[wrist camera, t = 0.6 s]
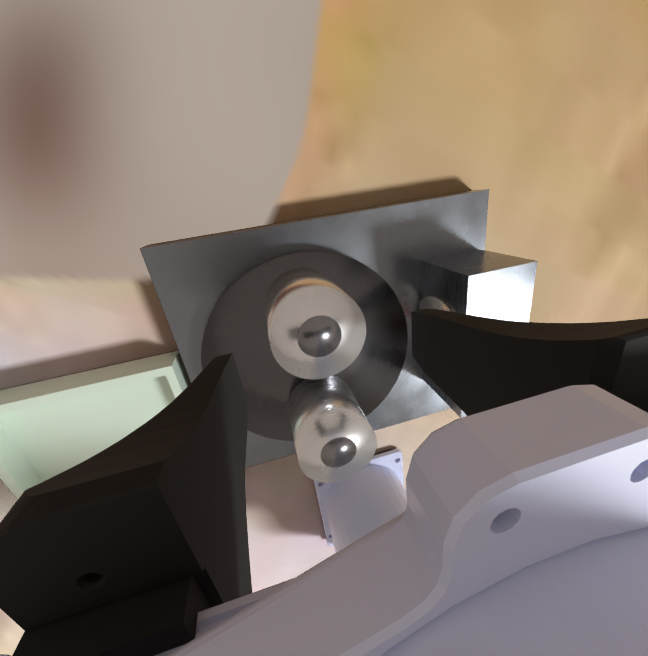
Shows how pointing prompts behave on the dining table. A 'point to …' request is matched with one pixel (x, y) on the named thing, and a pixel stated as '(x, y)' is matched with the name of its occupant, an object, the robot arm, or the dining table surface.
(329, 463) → the spacer
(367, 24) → the dining table surface
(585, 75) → the dining table surface
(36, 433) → the tray
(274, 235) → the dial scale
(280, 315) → the cylinder
